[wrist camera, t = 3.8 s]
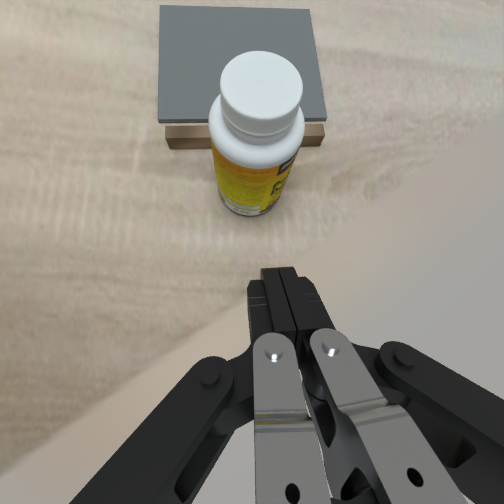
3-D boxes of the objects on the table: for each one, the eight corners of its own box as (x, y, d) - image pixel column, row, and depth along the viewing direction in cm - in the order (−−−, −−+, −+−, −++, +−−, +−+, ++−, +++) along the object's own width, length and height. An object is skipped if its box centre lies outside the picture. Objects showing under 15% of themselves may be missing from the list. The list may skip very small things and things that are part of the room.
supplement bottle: (270, 226, 20) (303, 150, 10) (209, 206, 20) (182, 111, 10) (287, 171, 21) (332, 56, 11) (230, 153, 21) (225, 22, 11)
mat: (159, 122, 22) (157, 119, 21) (161, 9, 25) (159, 5, 24) (325, 120, 23) (327, 117, 22) (308, 13, 26) (309, 9, 25)
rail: (169, 148, 21) (165, 138, 20) (169, 137, 21) (165, 126, 20) (319, 145, 22) (324, 135, 21) (317, 135, 22) (323, 124, 21)
